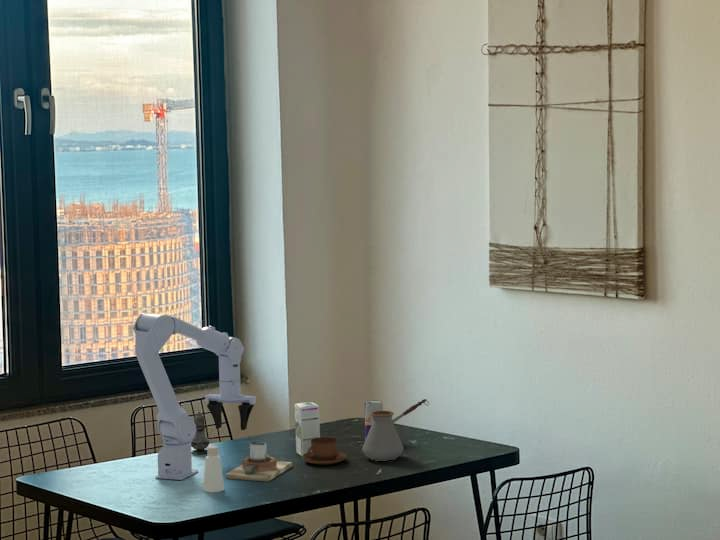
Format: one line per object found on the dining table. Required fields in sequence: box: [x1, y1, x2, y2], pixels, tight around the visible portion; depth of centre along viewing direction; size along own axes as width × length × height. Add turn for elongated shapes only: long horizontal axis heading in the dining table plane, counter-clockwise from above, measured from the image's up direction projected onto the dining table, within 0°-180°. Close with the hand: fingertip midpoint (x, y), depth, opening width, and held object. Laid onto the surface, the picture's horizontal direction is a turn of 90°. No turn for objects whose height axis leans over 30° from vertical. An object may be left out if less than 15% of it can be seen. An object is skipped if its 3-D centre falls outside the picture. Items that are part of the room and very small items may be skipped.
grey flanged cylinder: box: [191, 411, 211, 456], centre depth 325 cm, size 6×6×12 cm
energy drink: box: [364, 399, 384, 441], centre depth 335 cm, size 5×5×12 cm
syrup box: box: [294, 401, 321, 458], centre depth 320 cm, size 6×6×14 cm
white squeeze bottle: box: [202, 445, 225, 494], centre depth 285 cm, size 5×5×11 cm
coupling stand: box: [225, 454, 293, 482], centre depth 302 cm, size 16×12×3 cm
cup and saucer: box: [302, 436, 347, 466], centre depth 312 cm, size 12×12×6 cm
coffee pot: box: [362, 398, 430, 462], centre depth 317 cm, size 21×12×15 cm, turn 123°
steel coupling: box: [249, 441, 268, 463], centre depth 302 cm, size 4×4×7 cm
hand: (231, 428), depth 313 cm, fingers open, 7 cm apart
